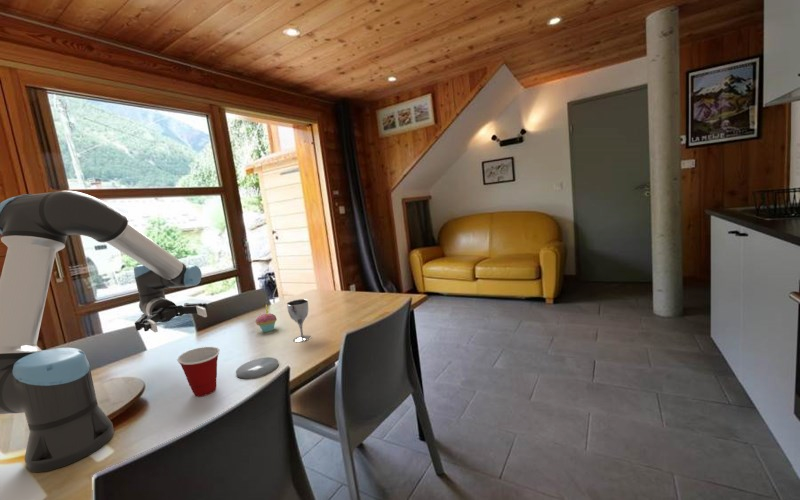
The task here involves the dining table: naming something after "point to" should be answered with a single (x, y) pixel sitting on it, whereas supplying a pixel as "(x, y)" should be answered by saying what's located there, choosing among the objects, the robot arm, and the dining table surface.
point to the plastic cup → (200, 369)
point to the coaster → (257, 368)
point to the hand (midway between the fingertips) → (181, 320)
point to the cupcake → (266, 321)
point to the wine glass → (299, 315)
